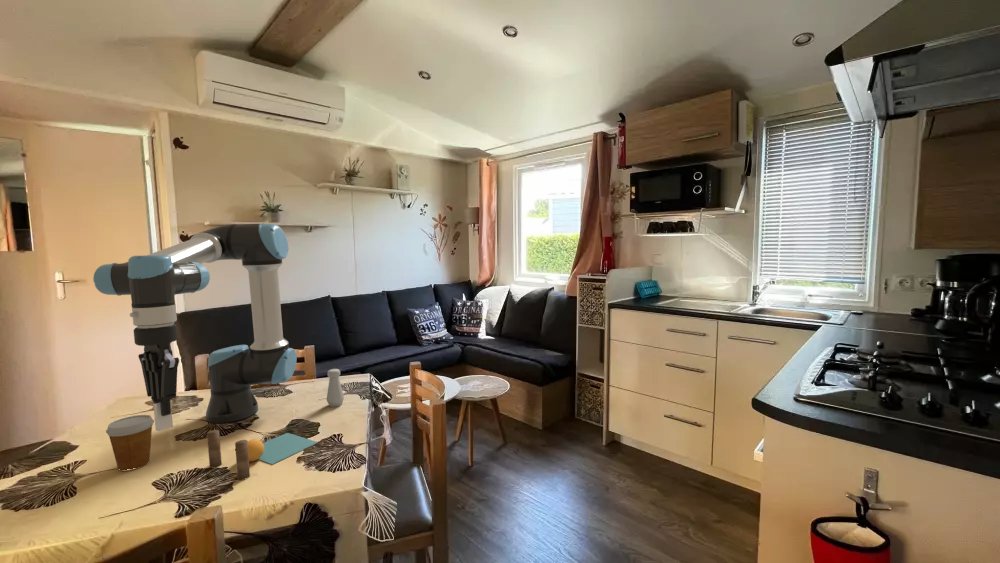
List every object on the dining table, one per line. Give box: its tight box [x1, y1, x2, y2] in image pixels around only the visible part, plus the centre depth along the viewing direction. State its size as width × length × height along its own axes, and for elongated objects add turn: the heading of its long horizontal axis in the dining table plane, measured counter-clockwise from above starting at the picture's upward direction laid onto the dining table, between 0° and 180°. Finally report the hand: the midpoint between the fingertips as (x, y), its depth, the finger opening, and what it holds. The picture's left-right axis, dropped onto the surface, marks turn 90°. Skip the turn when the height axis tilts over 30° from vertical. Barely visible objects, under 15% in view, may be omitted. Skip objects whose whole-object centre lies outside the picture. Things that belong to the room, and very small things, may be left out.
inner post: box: [206, 429, 223, 468], centre depth 111 cm, size 3×3×9 cm
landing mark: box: [257, 432, 319, 466], centre depth 121 cm, size 14×14×1 cm
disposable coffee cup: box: [105, 414, 155, 470], centre depth 112 cm, size 10×10×12 cm
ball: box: [247, 438, 264, 462], centre depth 114 cm, size 6×6×6 cm
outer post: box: [234, 439, 251, 480], centre depth 105 cm, size 3×3×9 cm
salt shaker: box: [326, 368, 345, 408], centre depth 153 cm, size 6×6×13 cm
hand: (164, 428), depth 96 cm, fingers closed
